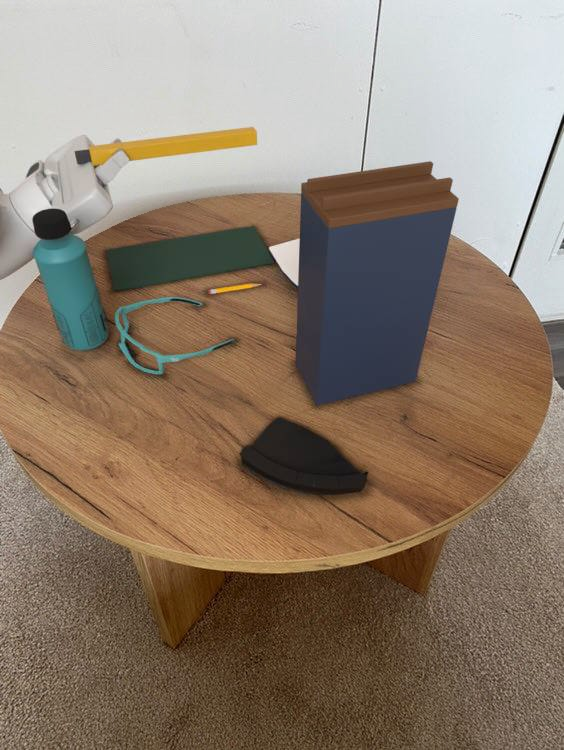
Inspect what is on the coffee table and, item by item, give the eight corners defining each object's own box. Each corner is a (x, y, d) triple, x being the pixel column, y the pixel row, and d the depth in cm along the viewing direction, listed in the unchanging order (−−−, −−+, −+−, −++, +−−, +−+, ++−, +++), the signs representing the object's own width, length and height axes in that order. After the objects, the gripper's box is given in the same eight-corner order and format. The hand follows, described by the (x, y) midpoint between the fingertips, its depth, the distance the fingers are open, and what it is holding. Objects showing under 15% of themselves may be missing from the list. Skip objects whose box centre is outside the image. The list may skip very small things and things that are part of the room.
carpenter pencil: (78, 167, 81) (74, 153, 79) (77, 161, 82) (73, 147, 81) (257, 145, 87) (257, 131, 86) (253, 139, 88) (253, 126, 87)
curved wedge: (338, 524, 61) (339, 515, 60) (236, 464, 67) (236, 455, 65) (376, 471, 66) (378, 462, 65) (278, 419, 72) (278, 410, 70)
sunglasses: (102, 331, 83) (98, 302, 80) (196, 305, 90) (196, 278, 87) (142, 390, 75) (139, 360, 71) (242, 357, 82) (243, 328, 78)
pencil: (208, 292, 91) (208, 289, 90) (261, 284, 92) (261, 281, 92) (209, 295, 90) (209, 292, 90) (262, 287, 92) (262, 283, 91)
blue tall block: (316, 406, 73) (330, 208, 54) (295, 364, 79) (301, 171, 60) (415, 381, 76) (461, 187, 57) (389, 343, 82) (423, 154, 63)
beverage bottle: (116, 353, 80) (82, 222, 66) (66, 365, 78) (21, 233, 64) (108, 324, 84) (75, 196, 70) (61, 335, 83) (17, 206, 69)
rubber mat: (114, 291, 90) (114, 289, 90) (106, 251, 98) (105, 249, 98) (274, 263, 96) (274, 261, 96) (253, 227, 104) (253, 225, 104)
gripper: (34, 225, 75) (118, 161, 73) (30, 160, 89) (101, 104, 87) (69, 258, 79) (150, 198, 77) (61, 190, 93) (129, 138, 91)
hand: (124, 148), depth 82 cm, fingers closed on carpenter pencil, 2 cm apart
